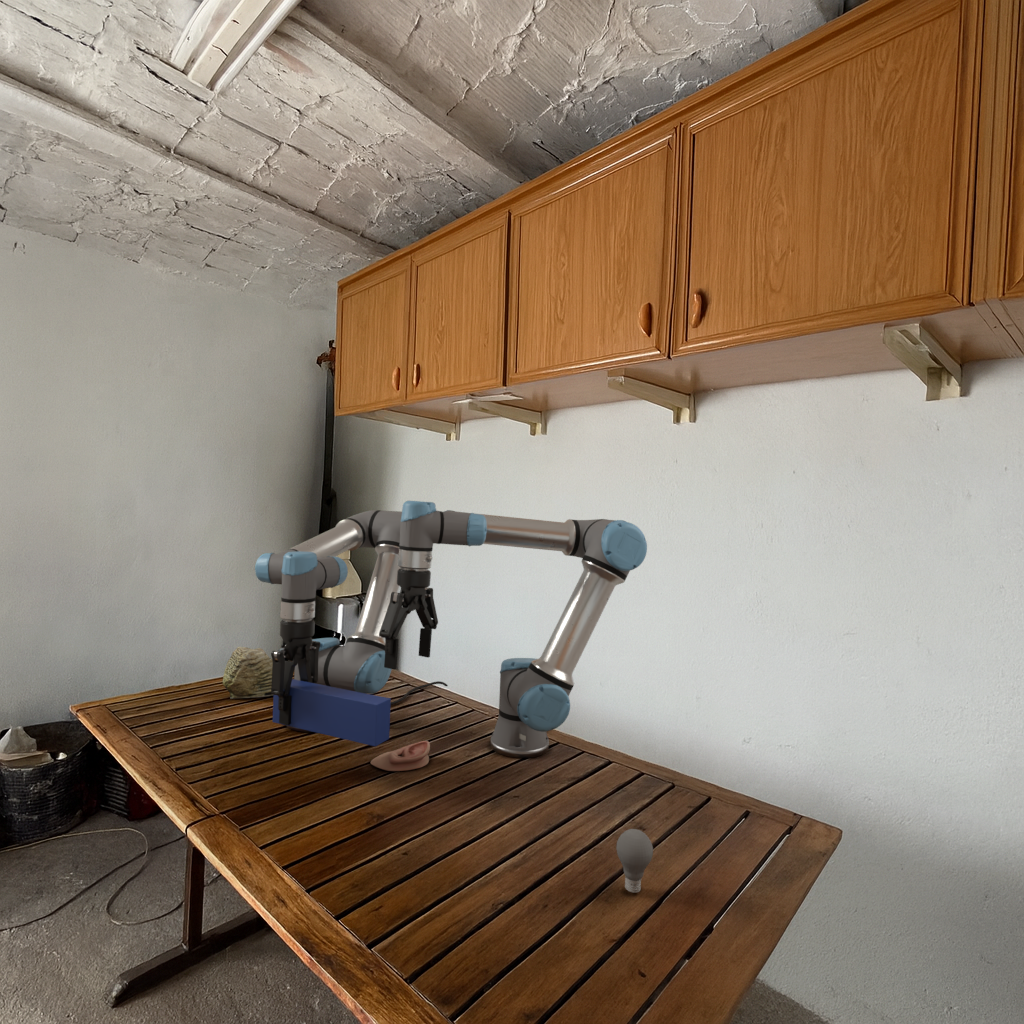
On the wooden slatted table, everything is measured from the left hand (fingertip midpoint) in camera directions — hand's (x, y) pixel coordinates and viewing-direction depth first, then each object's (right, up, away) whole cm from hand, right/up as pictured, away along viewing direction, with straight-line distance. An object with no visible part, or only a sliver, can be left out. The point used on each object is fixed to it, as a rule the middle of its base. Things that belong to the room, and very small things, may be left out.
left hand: (294, 719), depth 146 cm
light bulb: (+70, -16, -40) cm, 82 cm away
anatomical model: (+23, -13, +7) cm, 27 cm away
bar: (+9, -1, -4) cm, 10 cm away
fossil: (-30, -9, +52) cm, 61 cm away
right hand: (+27, +14, -2) cm, 30 cm away
